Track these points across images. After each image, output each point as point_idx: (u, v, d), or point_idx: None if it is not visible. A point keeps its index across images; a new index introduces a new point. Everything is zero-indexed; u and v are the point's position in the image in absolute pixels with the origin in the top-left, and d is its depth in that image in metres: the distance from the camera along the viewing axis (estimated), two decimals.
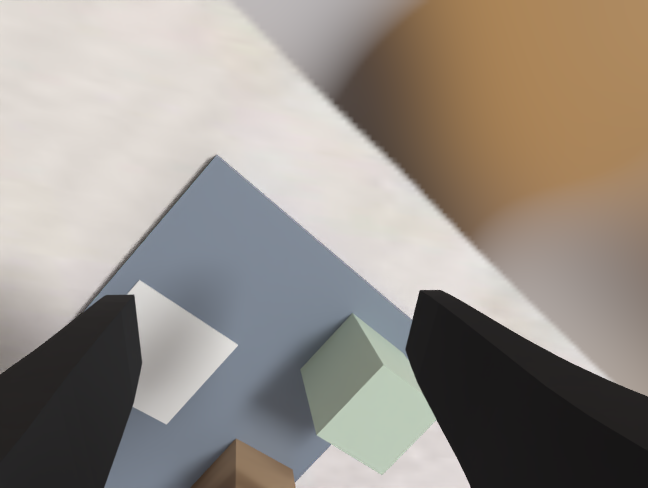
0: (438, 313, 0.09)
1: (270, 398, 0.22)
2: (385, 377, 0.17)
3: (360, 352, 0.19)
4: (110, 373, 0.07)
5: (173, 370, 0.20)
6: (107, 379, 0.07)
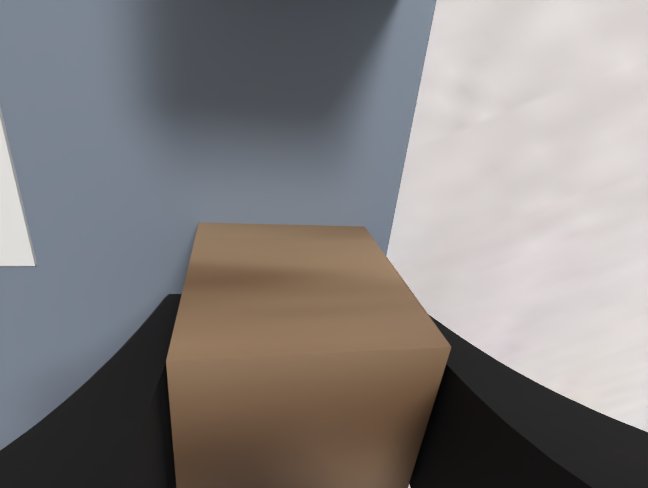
0: None
1: (188, 87, 0.08)
2: None
3: None
4: None
5: None
6: None
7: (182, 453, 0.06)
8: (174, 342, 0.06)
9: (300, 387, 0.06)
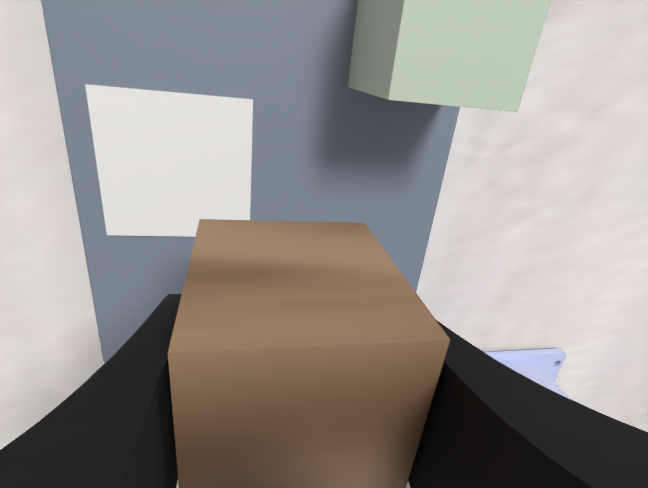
0: None
1: (337, 146, 0.17)
2: None
3: None
4: None
5: (208, 173, 0.16)
6: None
7: (184, 445, 0.06)
8: (175, 335, 0.06)
9: (301, 379, 0.06)
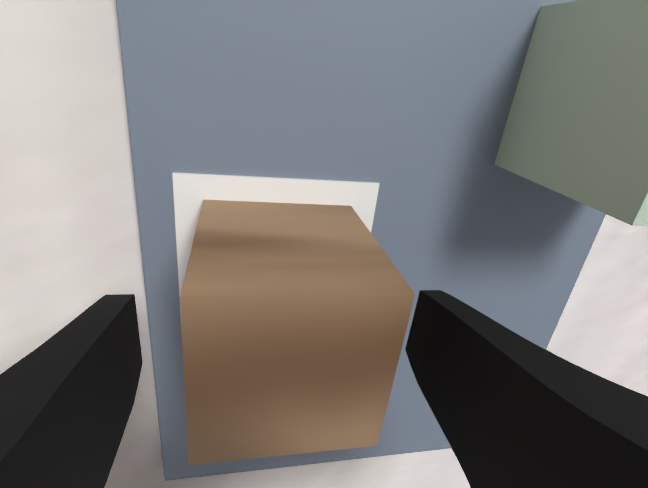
0: (438, 313, 0.09)
1: (470, 232, 0.14)
2: None
3: (630, 28, 0.08)
4: (110, 373, 0.07)
5: None
6: (107, 379, 0.07)
7: (191, 380, 0.08)
8: (185, 284, 0.07)
9: (289, 325, 0.07)
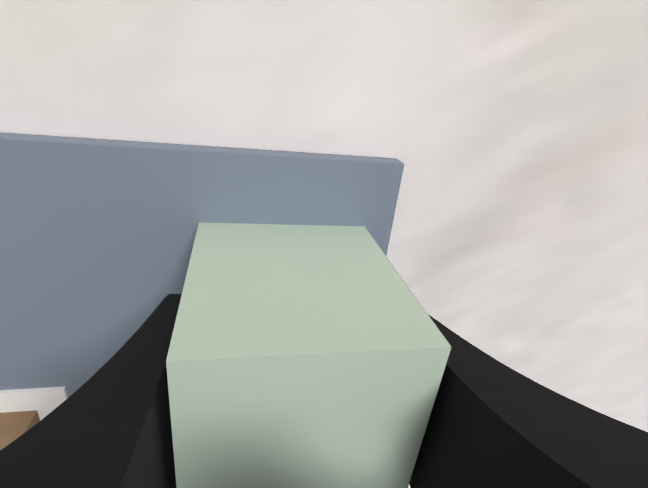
0: None
1: None
2: (206, 382, 0.06)
3: None
4: None
5: None
6: None
7: None
8: None
9: None
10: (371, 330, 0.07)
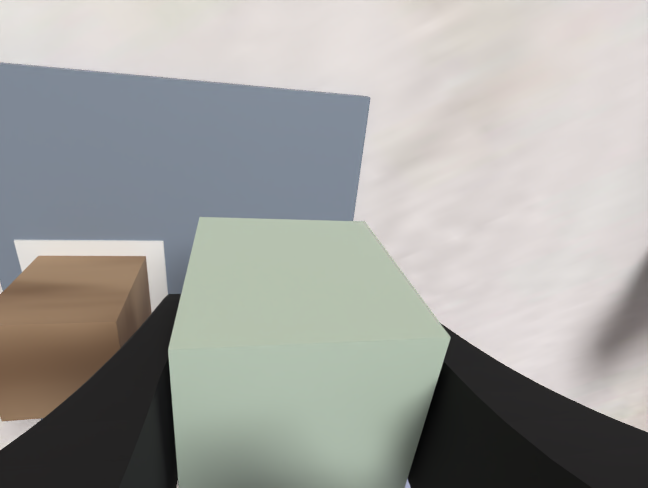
0: None
1: None
2: (208, 370, 0.06)
3: None
4: None
5: None
6: None
7: None
8: None
9: (40, 339, 0.13)
10: (371, 321, 0.07)
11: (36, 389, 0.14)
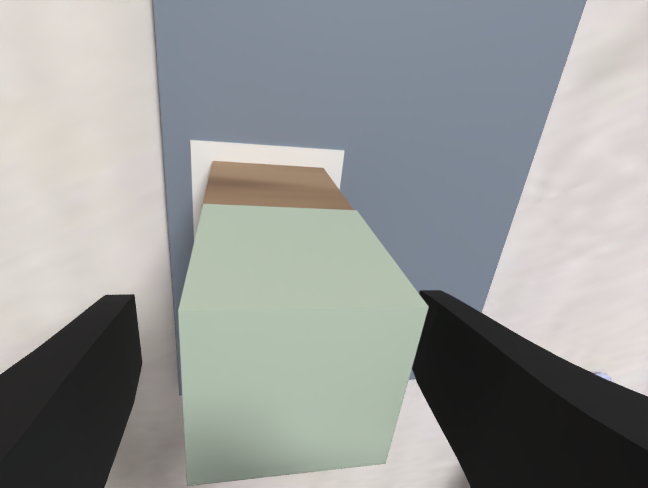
0: (438, 313, 0.09)
1: (418, 191, 0.17)
2: (213, 331, 0.07)
3: None
4: (110, 373, 0.07)
5: None
6: (107, 379, 0.07)
7: None
8: (205, 200, 0.11)
9: None
10: (358, 292, 0.07)
11: None
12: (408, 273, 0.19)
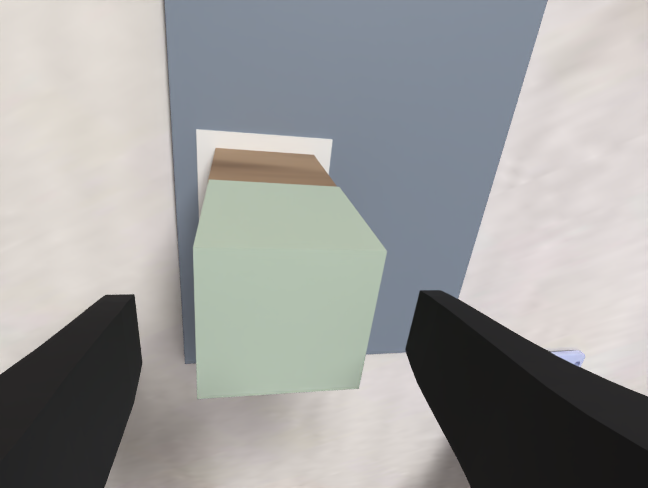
0: (438, 313, 0.09)
1: (399, 177, 0.19)
2: (219, 265, 0.09)
3: None
4: (110, 373, 0.07)
5: None
6: (107, 379, 0.07)
7: None
8: (210, 177, 0.13)
9: None
10: (332, 241, 0.09)
11: None
12: (392, 252, 0.21)
